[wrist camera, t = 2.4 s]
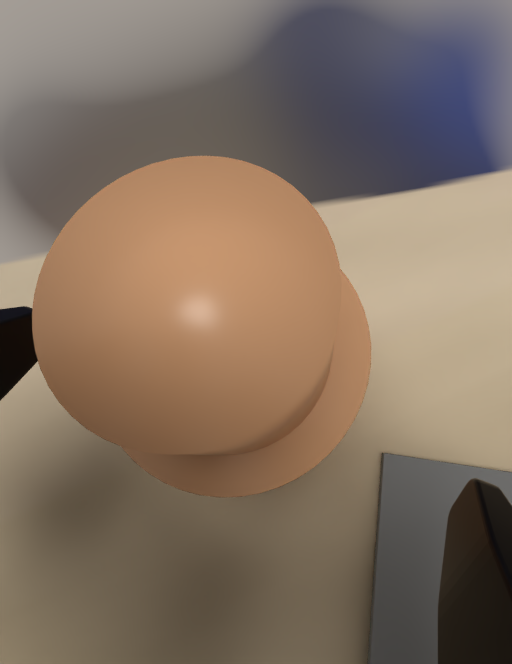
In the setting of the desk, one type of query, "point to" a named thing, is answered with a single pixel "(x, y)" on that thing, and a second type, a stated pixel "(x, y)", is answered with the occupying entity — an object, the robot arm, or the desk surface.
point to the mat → (414, 553)
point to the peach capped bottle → (204, 326)
